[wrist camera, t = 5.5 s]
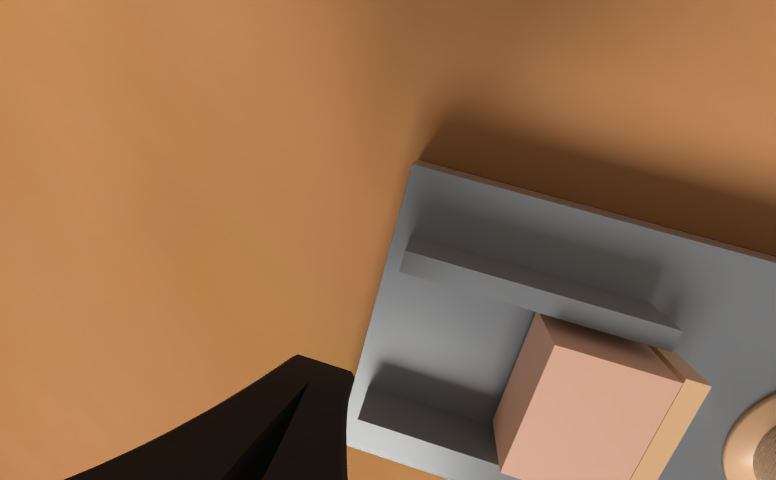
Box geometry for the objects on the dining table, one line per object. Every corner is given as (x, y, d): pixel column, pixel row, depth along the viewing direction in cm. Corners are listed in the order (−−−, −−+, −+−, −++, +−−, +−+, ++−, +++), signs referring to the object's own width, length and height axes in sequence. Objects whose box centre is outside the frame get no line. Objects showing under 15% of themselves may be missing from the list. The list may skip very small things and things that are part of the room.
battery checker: (819, 557, 14) (951, 708, 11) (351, 405, 16) (319, 491, 12) (1007, 319, 12) (1281, 410, 8) (417, 160, 13) (404, 170, 9)
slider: (587, 451, 12) (612, 509, 10) (492, 420, 12) (500, 472, 11) (642, 340, 11) (683, 383, 9) (537, 309, 11) (555, 344, 9)
